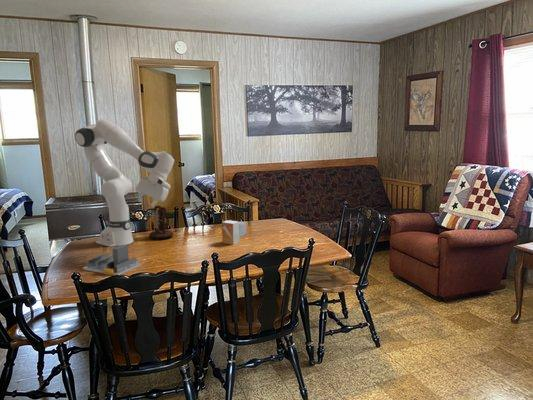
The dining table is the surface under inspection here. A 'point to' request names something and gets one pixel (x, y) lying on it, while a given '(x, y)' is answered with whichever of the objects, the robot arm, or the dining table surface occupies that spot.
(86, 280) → the dining table surface
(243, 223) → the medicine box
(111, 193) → the robot arm
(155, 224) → the brown statue
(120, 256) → the grey rectangular block
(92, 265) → the rack
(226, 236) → the small box
